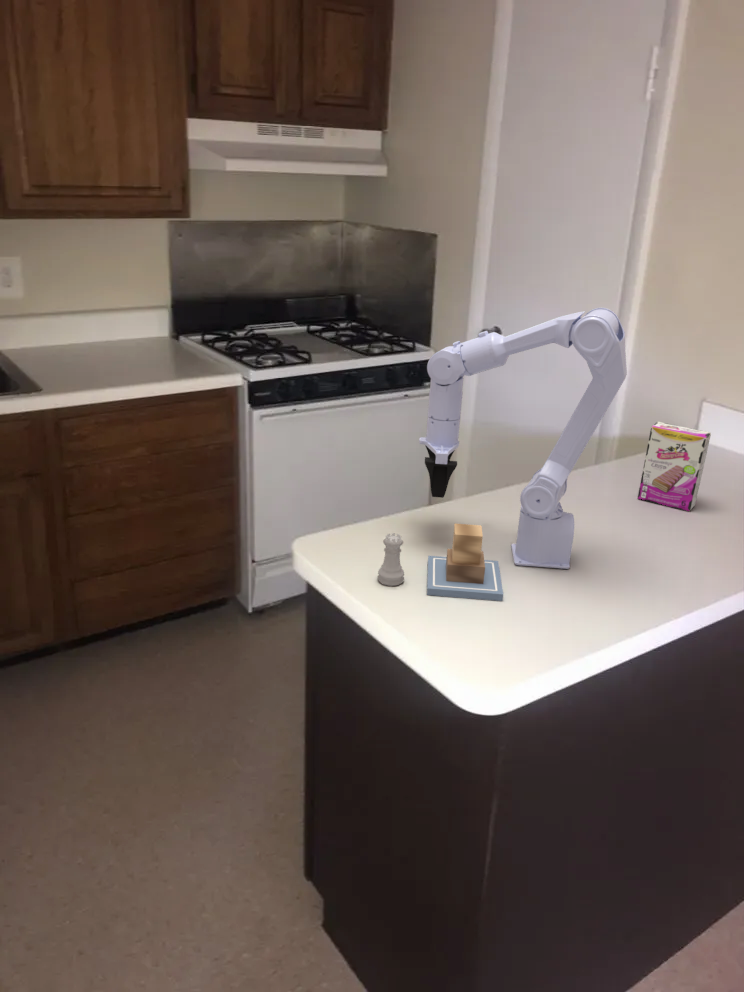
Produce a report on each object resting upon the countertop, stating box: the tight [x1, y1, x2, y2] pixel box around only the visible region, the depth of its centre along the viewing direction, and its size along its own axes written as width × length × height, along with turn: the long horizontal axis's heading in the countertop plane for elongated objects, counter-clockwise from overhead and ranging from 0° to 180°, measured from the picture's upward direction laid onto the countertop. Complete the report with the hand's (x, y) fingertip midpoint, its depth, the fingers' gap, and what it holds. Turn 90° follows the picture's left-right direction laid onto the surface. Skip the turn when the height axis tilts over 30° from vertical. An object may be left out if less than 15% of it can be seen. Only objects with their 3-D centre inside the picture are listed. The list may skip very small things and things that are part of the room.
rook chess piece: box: [377, 532, 405, 587], centre depth 134 cm, size 4×4×8 cm
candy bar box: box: [637, 421, 712, 512], centre depth 172 cm, size 11×5×16 cm, turn 58°
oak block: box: [451, 523, 484, 565], centre depth 135 cm, size 4×4×5 cm
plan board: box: [426, 548, 504, 602], centre depth 136 cm, size 12×12×4 cm
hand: (437, 488), depth 150 cm, fingers open, 7 cm apart
